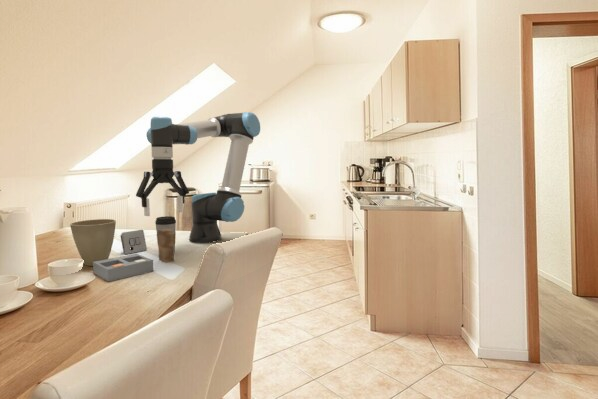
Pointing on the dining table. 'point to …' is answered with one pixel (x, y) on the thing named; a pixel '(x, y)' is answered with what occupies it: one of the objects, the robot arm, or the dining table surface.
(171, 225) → the coffee cup
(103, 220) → the plant pot
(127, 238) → the electrical switch
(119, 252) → the dining table surface
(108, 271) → the grey compartment tray
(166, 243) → the plug
